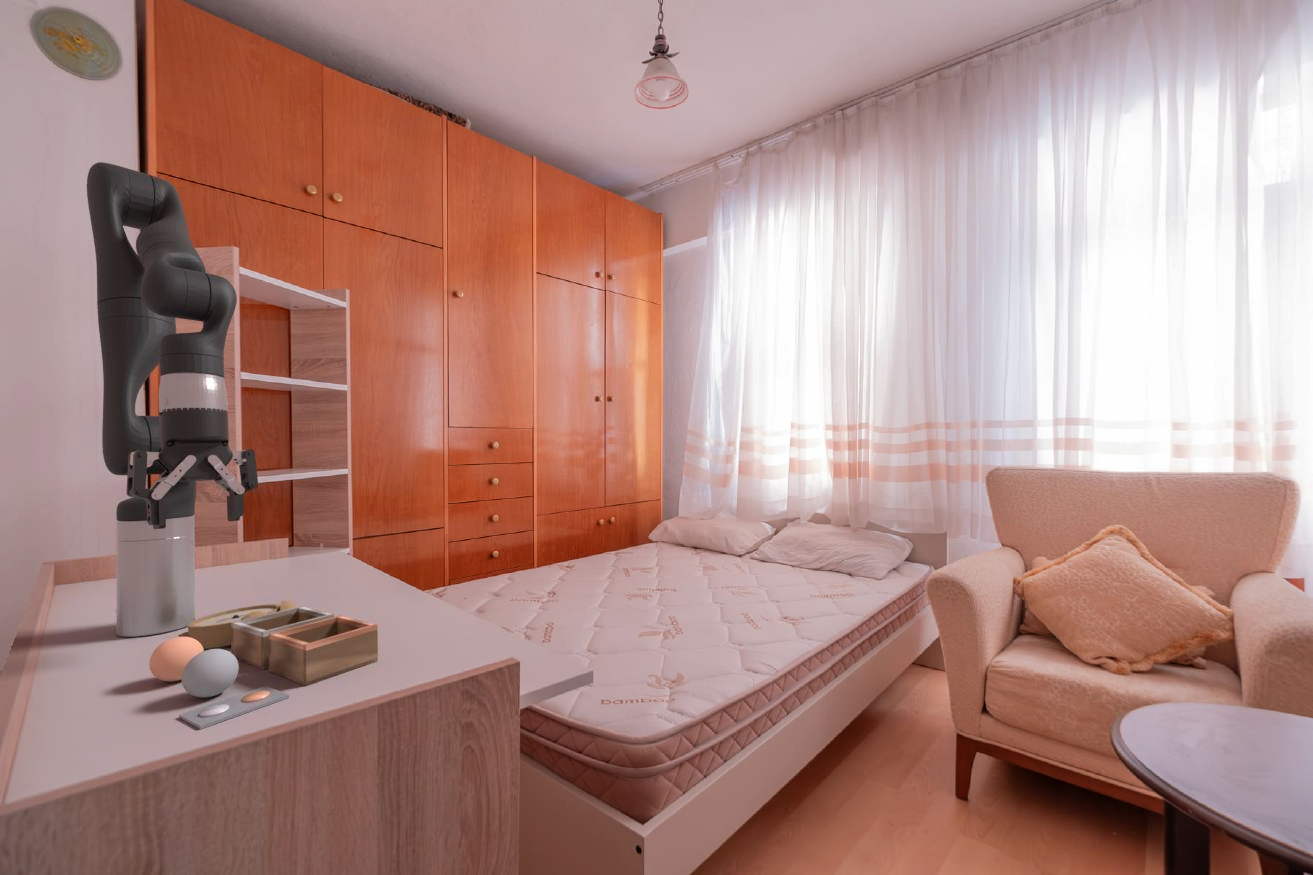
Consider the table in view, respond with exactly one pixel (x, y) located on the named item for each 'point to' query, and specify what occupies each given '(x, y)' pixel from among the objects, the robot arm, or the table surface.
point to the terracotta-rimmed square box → (322, 649)
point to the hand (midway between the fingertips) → (198, 524)
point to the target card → (232, 707)
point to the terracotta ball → (173, 657)
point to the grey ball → (210, 673)
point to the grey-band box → (267, 632)
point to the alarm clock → (227, 623)
